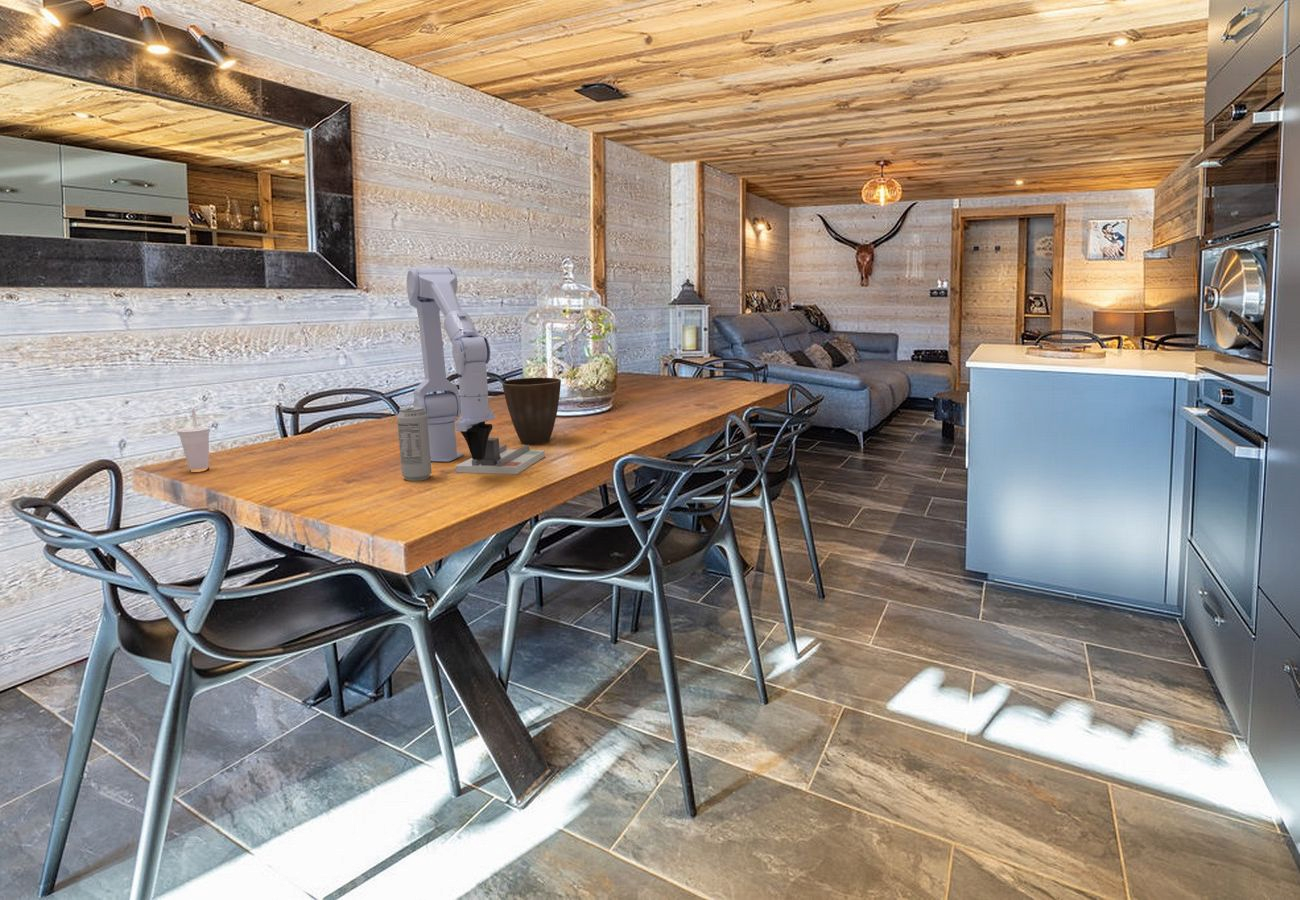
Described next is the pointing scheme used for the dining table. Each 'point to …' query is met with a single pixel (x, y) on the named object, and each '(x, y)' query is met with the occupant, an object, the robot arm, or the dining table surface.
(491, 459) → the lever
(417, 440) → the energy drink can
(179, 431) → the smoothie
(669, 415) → the dining table surface
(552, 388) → the plant pot
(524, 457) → the slider rail board
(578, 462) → the dining table surface
